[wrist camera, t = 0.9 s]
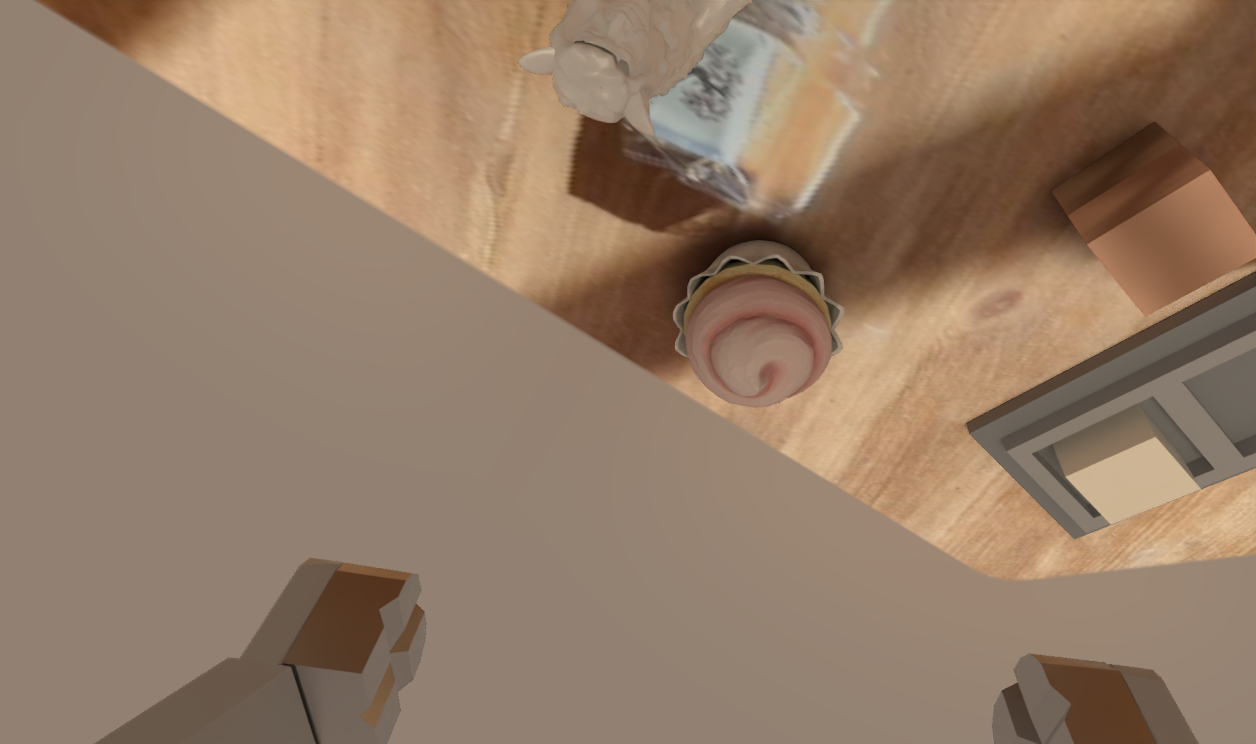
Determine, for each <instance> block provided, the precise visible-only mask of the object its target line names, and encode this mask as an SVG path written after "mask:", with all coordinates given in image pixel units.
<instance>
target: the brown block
mask: <svg viewBox="0 0 1256 744" xmlns="http://www.w3.org/2000/svg"><path fill="white" fill-rule="evenodd" d="M1051 192H1052V193H1053V195H1054V196H1055V198H1056V199H1057V201H1058V202H1059V204H1060V205H1061V207H1062V208H1063V210H1064V211H1065V213H1066V214H1067V216H1068V217H1069V219H1070V220H1071V222H1072V223H1073V225H1074V226H1075V228H1076V229H1077V231H1078V232H1079V234H1080V235H1081V237H1082V238H1083V240H1084V241H1085V243H1086V244H1087V245H1088V247H1089V248H1090V249H1091V250H1092V252H1093V253H1094V254H1095V255H1096V257H1097V258H1098V259H1099V260H1100V261H1101V263H1102V264H1103V265H1104V266H1105V268H1106V269H1107V270H1108V271H1109V273H1110V274H1111V275H1112V276H1113V278H1114V279H1115V280H1116V281H1117V283H1118V284H1119V285H1120V286H1121V287H1122V289H1123V290H1124V291H1125V292H1126V294H1127V295H1128V296H1129V297H1130V299H1131V300H1132V301H1133V302H1134V304H1135V305H1136V306H1137V307H1138V308H1139V310H1140V311H1141V312H1142V313H1143V315H1144V316H1145V317H1146V316H1147V315H1149V314H1151V313H1153V312H1155V311H1157V310H1159V309H1161V308H1162V307H1164V306H1166V305H1168V304H1170V303H1172V302H1174V301H1176V300H1178V299H1179V298H1181V297H1183V296H1185V295H1187V294H1189V293H1191V292H1193V291H1194V290H1196V289H1198V288H1200V287H1202V286H1204V285H1206V284H1208V283H1209V282H1211V281H1213V280H1215V279H1217V278H1219V277H1221V276H1223V275H1225V274H1226V273H1228V272H1230V271H1232V270H1234V269H1236V268H1238V267H1240V266H1241V265H1243V264H1245V263H1247V262H1249V261H1251V260H1253V259H1255V258H1256V234H1255V233H1254V231H1253V230H1252V229H1251V227H1250V226H1249V224H1248V223H1247V222H1246V220H1245V219H1244V217H1243V216H1242V214H1241V213H1240V212H1239V210H1238V209H1237V207H1236V206H1235V204H1234V203H1233V202H1232V200H1231V199H1230V197H1229V196H1228V194H1227V193H1226V192H1225V190H1224V189H1223V187H1222V186H1221V184H1220V183H1219V182H1218V180H1217V179H1216V177H1215V176H1214V174H1213V173H1212V172H1211V170H1210V169H1209V168H1208V167H1206V166H1205V165H1204V164H1203V163H1202V162H1201V161H1199V160H1198V159H1197V158H1196V157H1195V156H1194V155H1193V154H1191V153H1190V152H1189V151H1188V150H1187V149H1186V148H1184V147H1183V146H1182V145H1181V144H1180V143H1179V142H1177V141H1176V140H1175V139H1174V138H1173V137H1172V136H1170V135H1169V134H1168V133H1167V132H1166V131H1165V130H1164V129H1162V128H1161V127H1160V126H1159V125H1158V124H1157V123H1155V122H1154V123H1152V124H1151V125H1149V126H1148V127H1146V128H1145V129H1143V130H1142V131H1140V132H1139V133H1137V134H1136V135H1134V136H1133V137H1131V138H1130V139H1128V140H1127V141H1125V142H1124V143H1122V144H1121V145H1119V146H1118V147H1116V148H1115V149H1113V150H1112V151H1110V152H1109V153H1107V154H1106V155H1104V156H1103V157H1101V158H1100V159H1098V160H1097V161H1095V162H1094V163H1092V164H1091V165H1089V166H1088V167H1086V168H1085V169H1083V170H1082V171H1080V172H1079V173H1077V174H1076V175H1074V176H1073V177H1071V178H1070V179H1068V180H1067V181H1065V182H1064V183H1062V184H1061V185H1059V186H1058V187H1056V188H1055V189H1053V190H1052V191H1051Z"/></svg>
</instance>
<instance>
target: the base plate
mask: <svg viewBox="0 0 1256 744" xmlns="http://www.w3.org/2000/svg"><path fill="white" fill-rule="evenodd" d="M967 427H968V430H969V434H970V435H971V436H972V437H973V438H974V439H975V440H976V441H977V442H978V443H979V444H980V445H981V446H982V447H983V448H984V449H985V450H986V451H987V452H988V453H989V454H990V455H991V456H992V457H993V458H994V459H995V460H996V461H997V462H998V463H999V464H1000V465H1001V466H1002V467H1003V468H1004V469H1005V470H1006V471H1007V472H1008V473H1009V474H1010V475H1011V476H1012V477H1013V478H1014V479H1015V480H1016V481H1017V482H1018V483H1019V484H1020V485H1021V486H1022V487H1023V488H1024V489H1025V490H1026V491H1027V492H1028V493H1029V494H1030V495H1031V496H1032V497H1033V498H1034V499H1035V500H1036V501H1037V502H1038V503H1039V504H1040V505H1041V506H1042V507H1043V508H1044V509H1045V510H1046V511H1047V512H1048V513H1049V514H1050V515H1051V516H1052V517H1053V518H1054V519H1055V520H1056V521H1057V522H1058V523H1059V524H1060V525H1061V526H1062V527H1063V528H1064V529H1065V530H1066V531H1067V532H1068V533H1069V534H1070V535H1071V536H1072V537H1073V538H1074V539H1076V538H1079V537H1082V536H1084V535H1087V534H1089V533H1092V532H1094V531H1097V530H1099V529H1102V528H1104V527H1107V526H1109V525H1112V524H1115V523H1117V522H1120V521H1122V520H1125V519H1127V518H1130V517H1132V516H1135V515H1137V514H1140V513H1142V512H1145V511H1148V510H1150V509H1153V508H1155V507H1158V506H1160V505H1163V504H1165V503H1168V502H1170V501H1173V500H1175V499H1178V498H1180V497H1183V496H1186V495H1188V494H1191V493H1193V492H1196V491H1198V490H1201V489H1203V488H1206V487H1208V486H1211V485H1213V484H1216V483H1219V482H1221V481H1224V480H1226V479H1229V478H1231V477H1234V476H1236V475H1239V474H1241V473H1244V472H1246V471H1249V470H1251V469H1254V468H1256V272H1254V273H1253V274H1251V275H1249V276H1247V277H1245V278H1243V279H1241V280H1239V281H1237V282H1235V283H1233V284H1232V285H1230V286H1228V287H1226V288H1224V289H1222V290H1220V291H1218V292H1216V293H1214V294H1212V295H1211V296H1209V297H1207V298H1205V299H1203V300H1201V301H1199V302H1197V303H1195V304H1193V305H1191V306H1190V307H1188V308H1186V309H1184V310H1182V311H1180V312H1178V313H1176V314H1174V315H1172V316H1170V317H1169V318H1167V319H1165V320H1163V321H1161V322H1159V323H1157V324H1155V325H1153V326H1151V327H1149V328H1148V329H1146V330H1144V331H1142V332H1140V333H1138V334H1136V335H1134V336H1132V337H1130V338H1128V339H1127V340H1125V341H1123V342H1121V343H1119V344H1117V345H1115V346H1113V347H1111V348H1109V349H1107V350H1106V351H1104V352H1102V353H1100V354H1098V355H1096V356H1094V357H1092V358H1090V359H1088V360H1086V361H1085V362H1083V363H1081V364H1079V365H1077V366H1075V367H1073V368H1071V369H1069V370H1067V371H1065V372H1064V373H1062V374H1060V375H1058V376H1056V377H1054V378H1052V379H1050V380H1048V381H1046V382H1044V383H1043V384H1041V385H1039V386H1037V387H1035V388H1033V389H1031V390H1029V391H1027V392H1025V393H1023V394H1022V395H1020V396H1018V397H1016V398H1014V399H1012V400H1010V401H1008V402H1006V403H1004V404H1002V405H1001V406H999V407H997V408H995V409H993V410H991V411H989V412H987V413H985V414H983V415H981V416H980V417H978V418H976V419H974V420H972V421H970V422H968V423H967Z"/></svg>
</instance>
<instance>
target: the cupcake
mask: <svg viewBox="0 0 1256 744" xmlns="http://www.w3.org/2000/svg"><path fill="white" fill-rule="evenodd" d="M844 311H845V309H844V308H843V307H842V306H841V305H840V304H838V303H837V302H836V301H835V300H833V299H832V298H831V297H829V296H828V295H827V294H825V293H824V279H823V277H822V274H821V273H818V272H815V271H812V270H811V268H810V266H809V264H808V263H807V262H806V261H805V260H804V259H803V258H802V257H801V256H800V255H799V254H798V253H797V252H795V251H794V250H792V249H791V248H789V247H788V246H785V245H782V244H779V243H776V242H772V241H764V240H754V241H748V242H743V243H740V244H737V245H735V246H732V247H730V248H728V249H727V250H726V251H724V252H723V253H722V254H721V255H719V256H718V257H717V258H716V259H715V261H714V262H713V263H712V264H711V266H710V267H709V268H708V269H707V270H706V271H704V272H702V273H701V274H699V275H697V276H695V277H693V278H691V279H690V281H689V284H688V286H687V297H686V298H685V299H683V300H682V301H681V302H680V303H679V304H678V305H677V306H676V308H675V310H674V312H673V320H674V322H675V323H676V325H677V326H678V328H679V329H680V330H681V331H680V333H679V335H678V337H677V339H676V341H675V349H676V350H677V351H678V352H679V353H680V354H681V355H683V356H685V357H687V358H689V361H690V363H691V366H692V368H693V370H694V372H695V374H696V376H697V378H698V379H699V380H701V381H702V383H703V384H704V385H705V386H706V387H707V388H708V389H709V390H711V391H712V392H713V393H714V394H716V395H717V396H718V397H720V398H722V399H724V400H725V401H727V402H729V403H732V404H737V405H743V406H749V407H767V406H771V405H774V404H777V403H780V402H781V401H783V400H784V399H786V398H790V397H792V396H794V395H796V394H798V393H800V392H803V391H804V390H806V389H807V388H808V387H810V386H811V385H812V384H814V383H815V382H816V381H817V380H819V378H820V376H821V375H822V373H823V372H824V370H825V368H826V367H827V365H828V363H829V360H830V357H831V356H833V355H835V354H837V353H839V352H840V351H841V350H842V349H843V346H842V342H841V341H840V339H839V337H838V335H837V334H836V332H835V330H834V329H835V328H836V326H837V324H838V323H839V321H840V320H841V318H842V317H843V315H844Z"/></svg>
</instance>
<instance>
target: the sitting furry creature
mask: <svg viewBox="0 0 1256 744" xmlns="http://www.w3.org/2000/svg"><path fill="white" fill-rule="evenodd" d="M751 2H752V0H573V1H571V2H570V3H569V4H568V6H567V11H566V13H565V15H564V17H563V20H562V21H561V22H560V23H559V24H558V25H557V26H556V27H555V28H554V29H553V30H552V32H551V33H550V39H549V40H550V44H551V46H549V47H545V48H541V49H538V50H534V51H532V52H530V53H527V54H525V55H523V56H522V58H521V59H520V60H519V61H518V64H519V65H520V67H522V68H523V69H525V70H527V71H529V72H531V73H534V74H539V75H548V74H553V79H552V80H553V86H554V89H555V91H556V93H557V94H558V98H559V101H560V102H561V104H562V105H563V106H567V107H572V108H574V109H576V110H577V111H578V112H579V113H580V115H582V114H583V115H585V116H587V117H590V118H592V119H594V120H598V121H603V122H607V123H616V122H618V121H619V120H620V119H621V118H623V117H626V118H627V120H628V121H629V122H630V123H631V125H632V126H634V127H635V128H636V129H637V130H638V131H640V132H642V133H643V134H646V135H649V136H652V137H654V129H653V126H652V123H651V120H650V117H649V102H648V101H649V100H650V98H652V97H654V96H657V95H661V96H664V95H667V93H668V91H669V89H671V88H674V86H675V85H676V84H677V83H678V81H679V80H681V79H685V78H686V77H687V74H688V73H689V72H691V71H692V69H693V68H695V67H697V64H698V62H699V61H700V60H701V59H703V56H704V50H705V48H707V47H708V46H710V44H711V43H712V42H713V41H714V40H715V39H716V38H717V37H718V36H719V35H721V34H722V33H723V32H725V30H726V28H727V26H728V24H729V22H730V19H731V18H732V17H733V16H734V15H735V14H736V13H737V12H739V11H740V10H742V9H743V8H744V7H745V6H747V5H750V4H751Z"/></svg>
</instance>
